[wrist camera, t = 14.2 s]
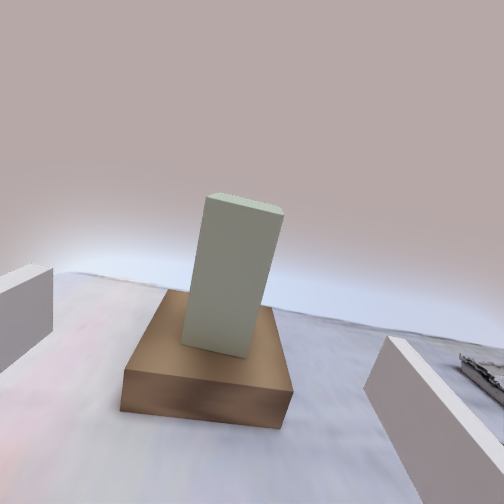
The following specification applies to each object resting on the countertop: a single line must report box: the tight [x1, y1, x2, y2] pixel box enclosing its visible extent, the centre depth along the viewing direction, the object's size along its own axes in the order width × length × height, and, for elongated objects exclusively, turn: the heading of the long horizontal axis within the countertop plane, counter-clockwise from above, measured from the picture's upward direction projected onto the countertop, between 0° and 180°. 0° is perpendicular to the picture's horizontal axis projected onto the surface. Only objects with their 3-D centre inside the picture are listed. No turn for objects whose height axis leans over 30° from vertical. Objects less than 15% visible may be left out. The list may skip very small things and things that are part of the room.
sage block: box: [180, 192, 284, 359], centre depth 20 cm, size 5×5×11 cm
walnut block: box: [120, 289, 294, 429], centre depth 22 cm, size 11×11×4 cm
